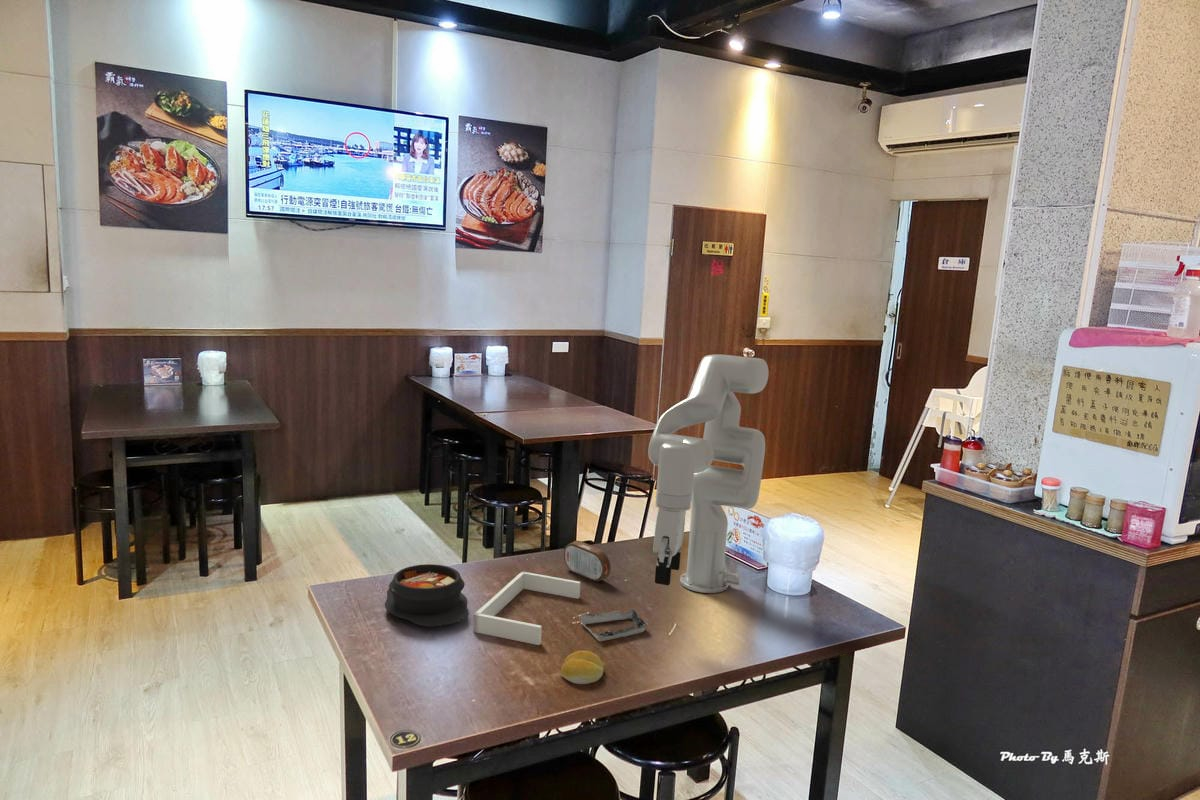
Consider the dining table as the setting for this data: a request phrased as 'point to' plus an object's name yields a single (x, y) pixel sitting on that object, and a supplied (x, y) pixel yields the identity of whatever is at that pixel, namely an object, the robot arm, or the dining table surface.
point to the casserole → (427, 595)
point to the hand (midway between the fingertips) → (667, 576)
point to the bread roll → (582, 667)
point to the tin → (587, 561)
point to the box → (524, 580)
